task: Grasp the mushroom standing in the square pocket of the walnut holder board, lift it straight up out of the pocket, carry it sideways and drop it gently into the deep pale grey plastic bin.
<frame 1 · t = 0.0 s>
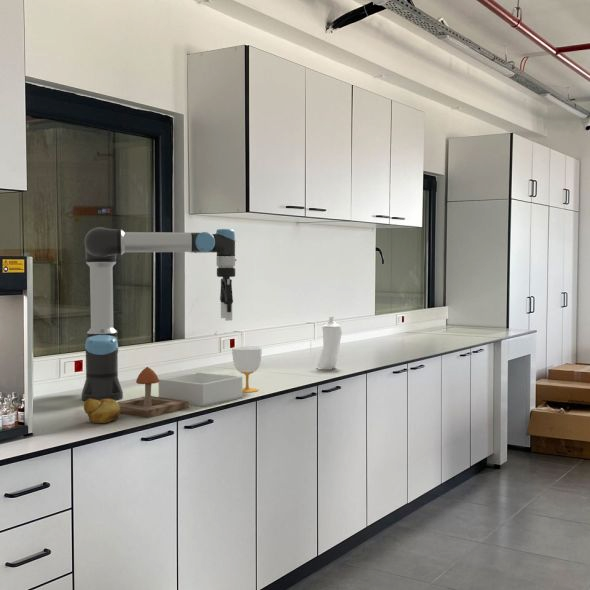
hand: (226, 319, 308), 28 cm above the worktop, fingers open, 13 cm apart
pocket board: (148, 409, 262), on the worktop
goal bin: (200, 399, 282), on the worktop
spray can: (329, 368, 365), on the worktop
cup: (247, 391, 301), on the worktop
mushroom: (148, 410, 262), resting in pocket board
bread roll: (105, 421, 244), on the worktop
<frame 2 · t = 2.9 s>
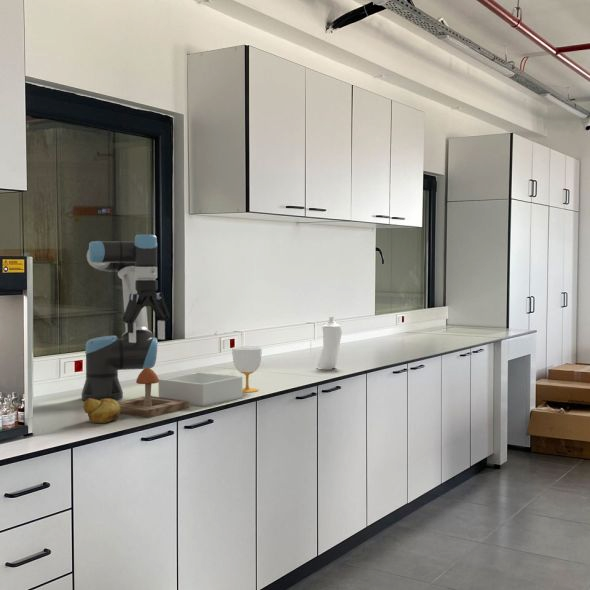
hand: (147, 340, 261), 24 cm above the worktop, fingers open, 13 cm apart
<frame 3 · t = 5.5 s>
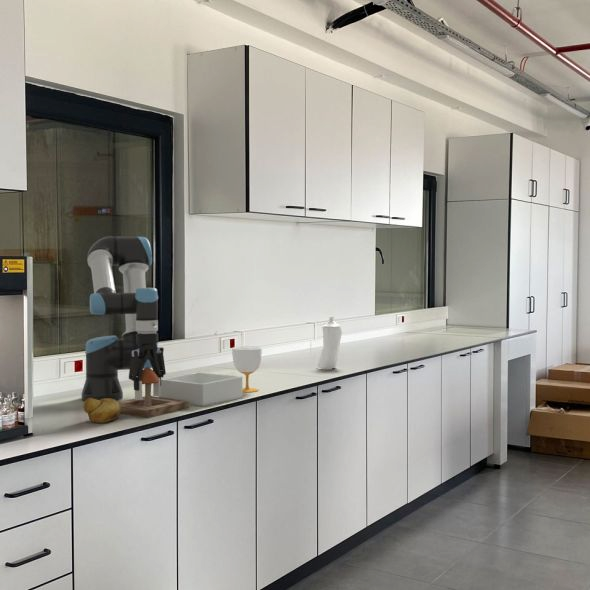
hand: (147, 397, 262), 4 cm above the worktop, fingers closed on mushroom, 8 cm apart
mushroom: (148, 410, 262), resting in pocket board, touching gripper
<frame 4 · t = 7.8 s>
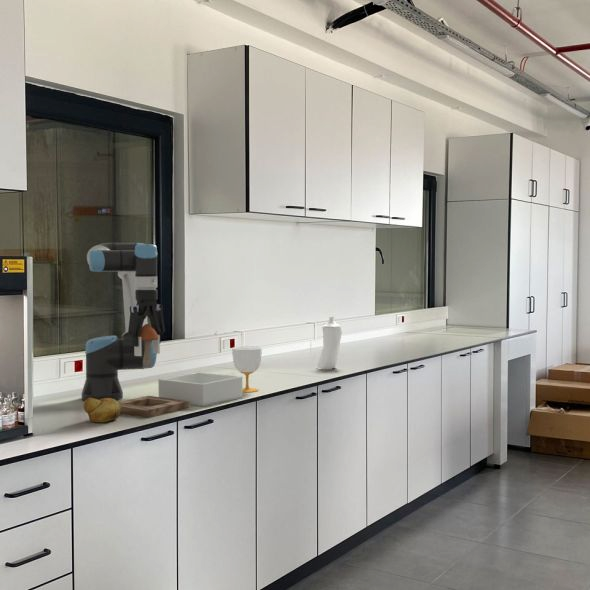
hand: (147, 354, 261), 19 cm above the worktop, fingers closed on mushroom, 8 cm apart
mushroom: (147, 367, 262), point 15 cm above the worktop, touching gripper
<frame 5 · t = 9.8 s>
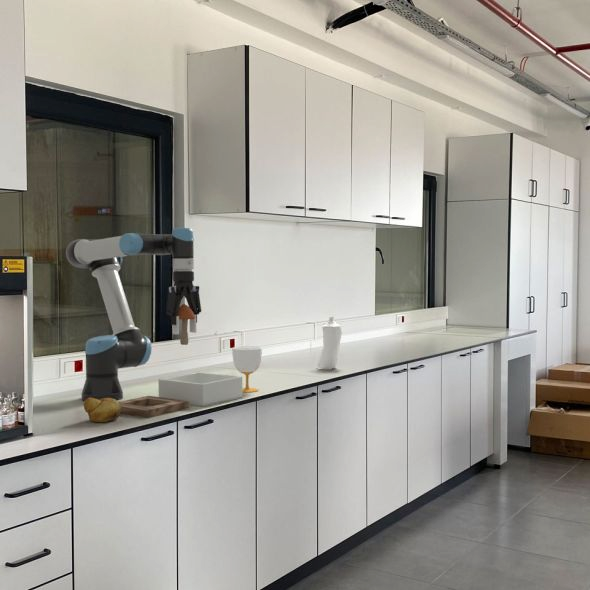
hand: (184, 333, 274), 25 cm above the worktop, fingers closed on mushroom, 8 cm apart
mushroom: (184, 345, 274), point 21 cm above the worktop, touching gripper
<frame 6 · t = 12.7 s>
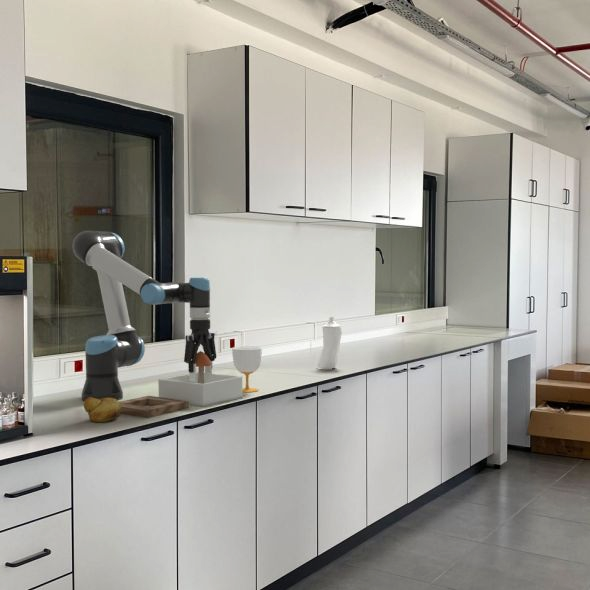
hand: (200, 379, 282), 7 cm above the worktop, fingers closed on mushroom, 8 cm apart
mushroom: (201, 391, 282), point 3 cm above the worktop, touching gripper
when the fingers open (7 cm above the worktop, at t = 14.3 s): mushroom drops 2 cm, resting on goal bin.
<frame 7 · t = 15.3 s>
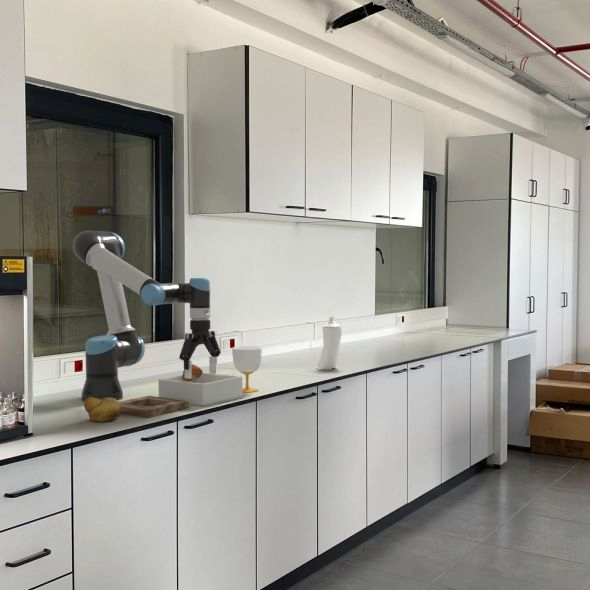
hand: (200, 376, 282), 9 cm above the worktop, fingers open, 13 cm apart
mushroom: (200, 396, 282), point 1 cm above the worktop, touching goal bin
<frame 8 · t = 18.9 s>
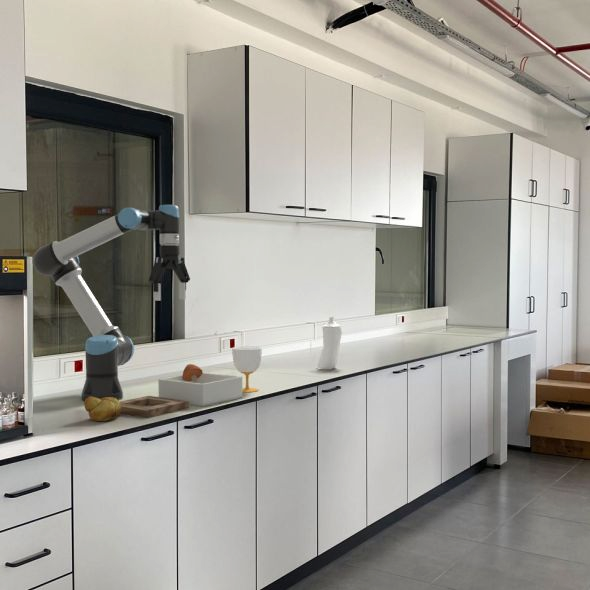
hand: (170, 299, 293), 37 cm above the worktop, fingers open, 13 cm apart
at the end: mushroom inside the target area on the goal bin (0.2 cm from its centre), point 0.9 cm above the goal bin's base; mushroom touching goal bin; the gripper is holding nothing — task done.
